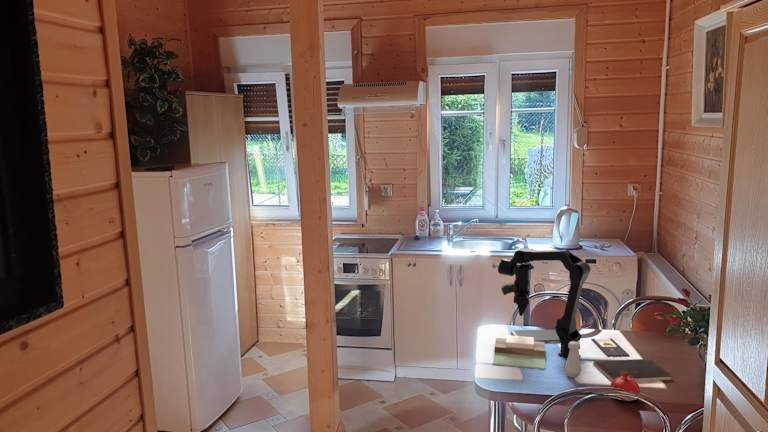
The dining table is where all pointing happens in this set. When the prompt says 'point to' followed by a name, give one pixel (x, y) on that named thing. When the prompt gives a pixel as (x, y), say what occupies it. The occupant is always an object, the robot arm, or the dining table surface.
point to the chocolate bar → (610, 347)
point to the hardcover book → (633, 369)
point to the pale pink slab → (520, 342)
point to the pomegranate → (626, 383)
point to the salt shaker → (573, 360)
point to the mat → (519, 360)
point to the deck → (537, 351)
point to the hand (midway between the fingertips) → (521, 313)
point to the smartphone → (538, 335)
